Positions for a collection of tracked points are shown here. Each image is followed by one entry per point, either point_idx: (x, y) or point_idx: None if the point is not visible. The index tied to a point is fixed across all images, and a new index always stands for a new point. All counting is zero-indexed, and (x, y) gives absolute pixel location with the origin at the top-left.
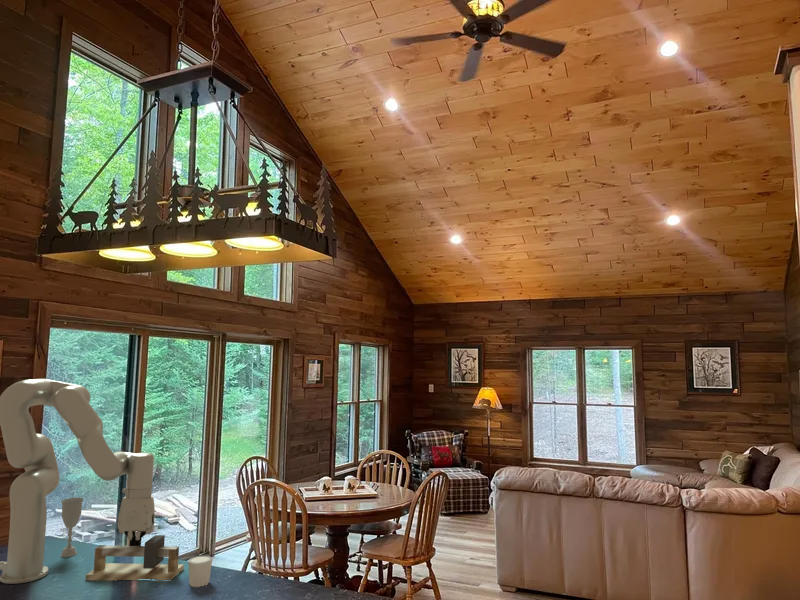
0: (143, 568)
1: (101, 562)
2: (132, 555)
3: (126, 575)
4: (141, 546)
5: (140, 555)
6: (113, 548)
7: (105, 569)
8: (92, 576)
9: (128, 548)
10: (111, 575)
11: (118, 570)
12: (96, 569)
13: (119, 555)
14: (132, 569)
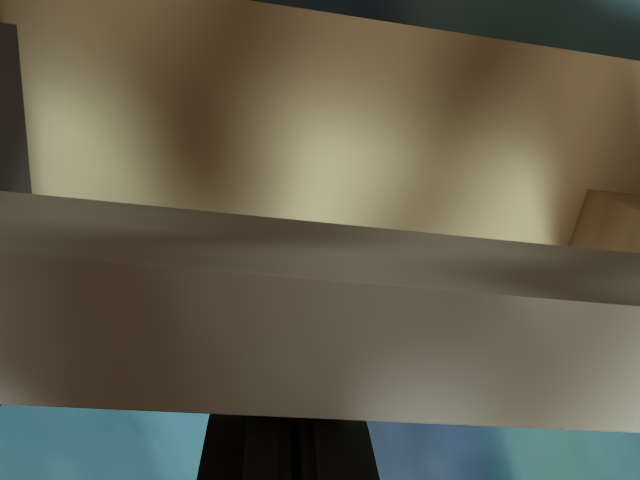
0: (13, 24)
1: (638, 232)
2: (236, 219)
3: (253, 2)
4: (92, 387)
5: (86, 206)
6: (629, 305)
7: (541, 224)
8: (637, 62)
9: (325, 278)
10: (438, 30)
11: (401, 186)
12: (633, 198)
13: (456, 238)
14: (256, 204)
